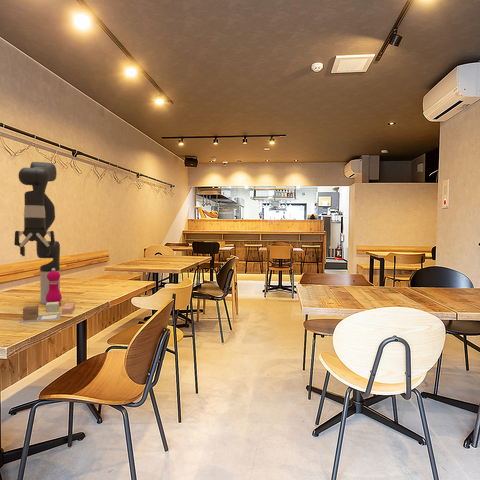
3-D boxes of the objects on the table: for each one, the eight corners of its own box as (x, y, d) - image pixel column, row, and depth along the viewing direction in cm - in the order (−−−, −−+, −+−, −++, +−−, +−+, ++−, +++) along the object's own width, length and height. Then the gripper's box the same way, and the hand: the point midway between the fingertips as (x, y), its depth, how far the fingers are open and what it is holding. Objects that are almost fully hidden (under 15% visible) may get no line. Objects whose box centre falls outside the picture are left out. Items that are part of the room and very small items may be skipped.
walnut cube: (25, 317, 149) (25, 306, 148) (38, 316, 151) (38, 305, 150) (23, 320, 144) (22, 309, 144) (36, 319, 146) (36, 308, 146)
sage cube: (47, 312, 162) (47, 302, 162) (59, 311, 164) (59, 301, 164) (45, 315, 158) (45, 304, 158) (58, 314, 160) (57, 303, 160)
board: (24, 318, 152) (24, 315, 152) (62, 315, 157) (62, 312, 157) (18, 326, 140) (18, 323, 140) (59, 322, 146) (59, 319, 146)
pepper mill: (50, 305, 177) (49, 267, 176) (64, 305, 178) (63, 267, 177) (43, 308, 170) (42, 269, 169) (58, 308, 170) (57, 269, 169)
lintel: (65, 311, 166) (65, 303, 166) (74, 310, 167) (74, 302, 167) (62, 317, 155) (61, 309, 155) (71, 317, 156) (71, 308, 156)
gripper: (55, 217, 146) (55, 254, 147) (16, 216, 141) (17, 255, 142) (53, 216, 139) (53, 256, 140) (12, 216, 134) (13, 257, 135)
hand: (35, 255), depth 141 cm, fingers open, 8 cm apart
